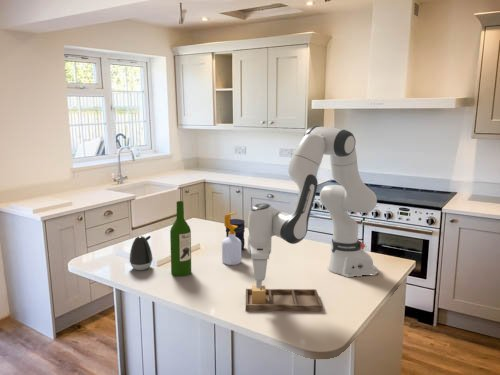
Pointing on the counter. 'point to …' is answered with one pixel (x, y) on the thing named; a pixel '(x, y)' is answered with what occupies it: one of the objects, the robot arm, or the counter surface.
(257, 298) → the letter cube
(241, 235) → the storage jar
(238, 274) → the counter surface
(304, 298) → the organiser
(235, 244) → the soap bottle
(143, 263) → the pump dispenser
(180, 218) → the wine bottle
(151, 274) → the counter surface
